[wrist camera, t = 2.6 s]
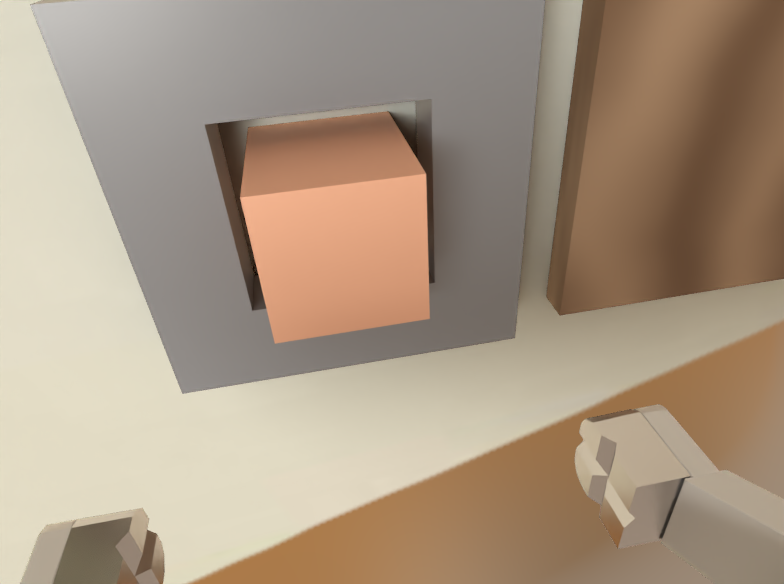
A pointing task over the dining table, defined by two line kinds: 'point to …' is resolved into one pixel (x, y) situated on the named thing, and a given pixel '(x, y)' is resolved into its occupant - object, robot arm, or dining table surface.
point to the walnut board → (671, 153)
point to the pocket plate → (287, 97)
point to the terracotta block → (336, 225)
